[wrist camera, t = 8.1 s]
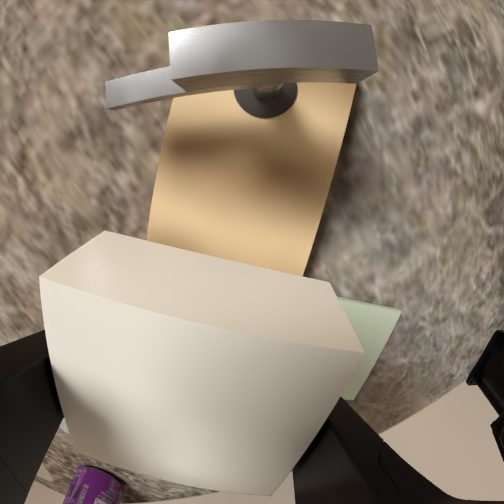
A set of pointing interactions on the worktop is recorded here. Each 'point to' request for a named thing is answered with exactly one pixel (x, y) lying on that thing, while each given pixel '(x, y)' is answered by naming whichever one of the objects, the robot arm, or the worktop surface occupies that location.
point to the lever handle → (252, 60)
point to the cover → (193, 362)
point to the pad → (367, 337)
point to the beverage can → (93, 487)
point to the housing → (249, 172)
